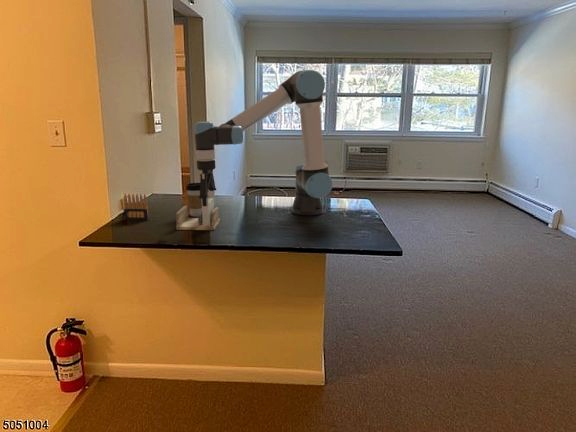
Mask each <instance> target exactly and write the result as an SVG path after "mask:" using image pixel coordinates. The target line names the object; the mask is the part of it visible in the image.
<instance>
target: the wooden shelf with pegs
mask: <svg viewBox="0 0 576 432" xmlns="http://www.w3.org/2000/svg"><path fill="white" fill-rule="evenodd" d="M188 207H189V206H188V205H184V206H182V207H181V208H180V209H179V210H178V211H177V212H176V213H175V221H176V227H175V229H176V231H177V230H180V231H181V230H182V231H184V230H186V231H187V230H188V231H191V230H192V231H215V230H216V228H217V227H218V226H219V224H220V223H221V218H220V216H219V206H214V210H213V211H212V212H211V215H212V224H211V225H210V226H203V219H202V212H201V215H198V216H197V217H189V211H188V209H189V208H188Z"/></svg>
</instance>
